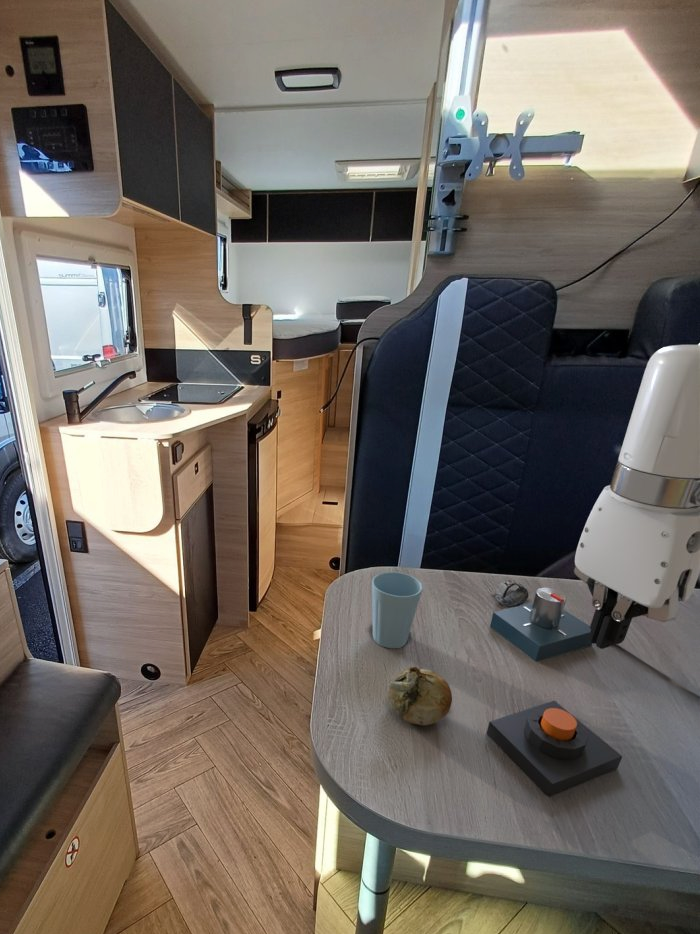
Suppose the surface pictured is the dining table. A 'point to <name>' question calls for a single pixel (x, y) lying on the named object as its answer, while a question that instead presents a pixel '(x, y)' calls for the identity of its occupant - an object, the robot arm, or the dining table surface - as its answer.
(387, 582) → the cup
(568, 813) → the dining table surface
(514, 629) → the dial panel
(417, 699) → the onion
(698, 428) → the robot arm
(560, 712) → the button
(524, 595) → the wristwatch
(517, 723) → the button base
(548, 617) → the temp dial
